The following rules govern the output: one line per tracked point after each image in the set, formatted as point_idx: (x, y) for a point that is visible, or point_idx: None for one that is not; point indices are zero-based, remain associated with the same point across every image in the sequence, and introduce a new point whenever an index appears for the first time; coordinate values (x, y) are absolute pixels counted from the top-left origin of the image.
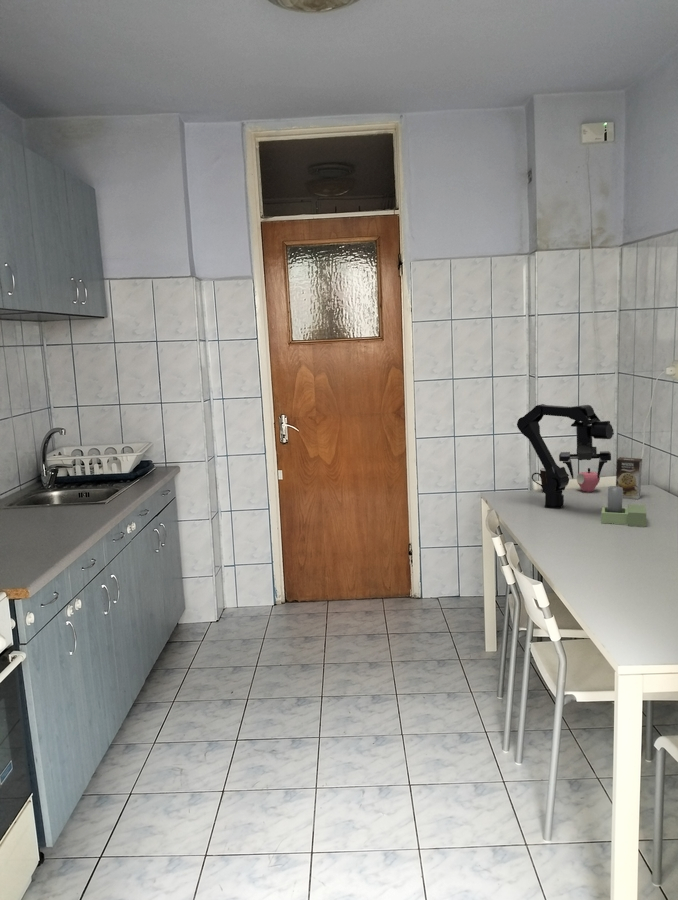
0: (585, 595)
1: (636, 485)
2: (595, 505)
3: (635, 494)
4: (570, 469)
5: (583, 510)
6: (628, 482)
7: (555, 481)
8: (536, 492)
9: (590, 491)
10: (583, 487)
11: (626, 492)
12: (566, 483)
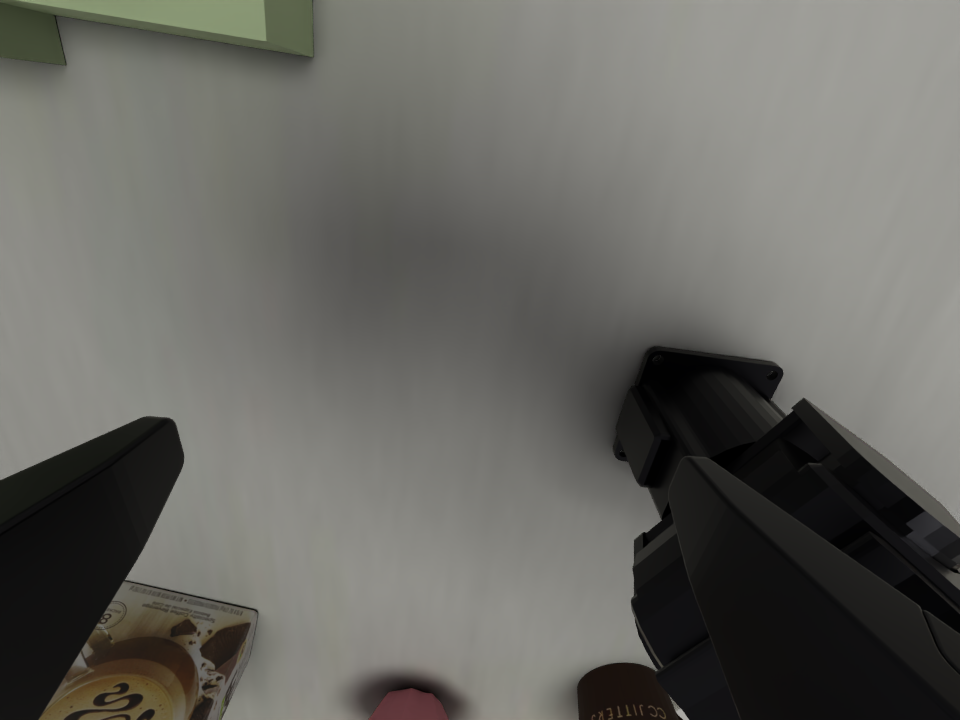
0: None
1: None
2: (374, 447)
3: (115, 611)
4: (940, 647)
5: (473, 303)
6: (106, 706)
7: (907, 496)
8: None
9: (398, 690)
10: (434, 715)
11: (168, 631)
12: (667, 546)
